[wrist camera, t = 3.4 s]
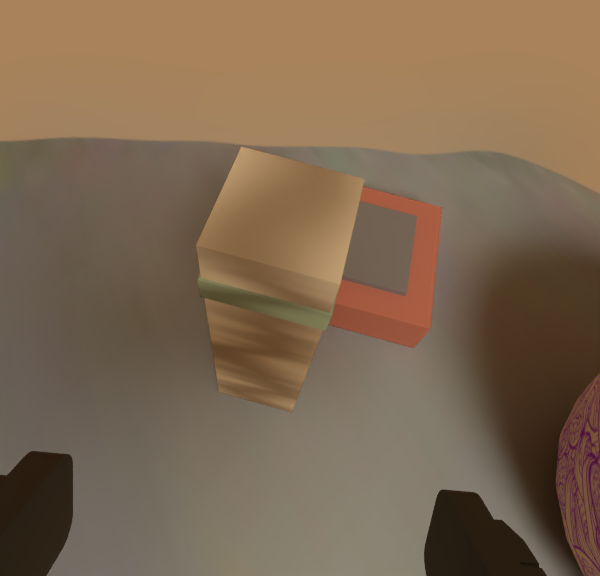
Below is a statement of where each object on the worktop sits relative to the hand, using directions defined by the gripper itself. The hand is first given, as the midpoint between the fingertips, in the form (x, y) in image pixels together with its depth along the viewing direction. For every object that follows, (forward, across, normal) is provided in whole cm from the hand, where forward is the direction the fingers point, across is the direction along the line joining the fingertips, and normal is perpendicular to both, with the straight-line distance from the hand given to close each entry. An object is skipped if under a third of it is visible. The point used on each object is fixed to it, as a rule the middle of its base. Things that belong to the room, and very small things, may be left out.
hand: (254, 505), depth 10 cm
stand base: (+23, -5, -1) cm, 23 cm away
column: (+17, 0, +5) cm, 18 cm away
